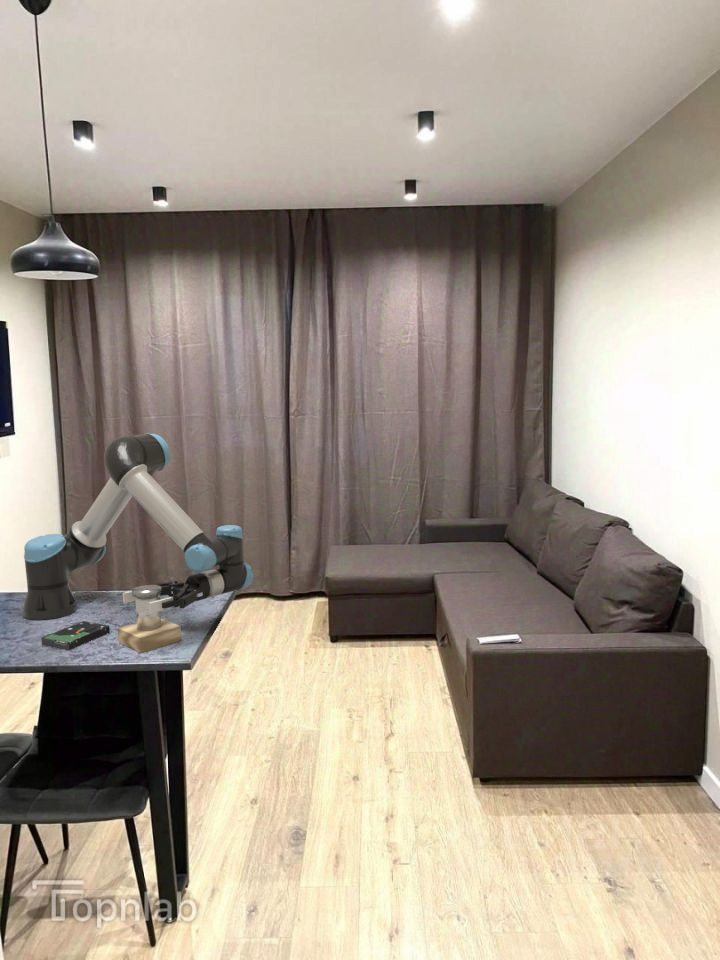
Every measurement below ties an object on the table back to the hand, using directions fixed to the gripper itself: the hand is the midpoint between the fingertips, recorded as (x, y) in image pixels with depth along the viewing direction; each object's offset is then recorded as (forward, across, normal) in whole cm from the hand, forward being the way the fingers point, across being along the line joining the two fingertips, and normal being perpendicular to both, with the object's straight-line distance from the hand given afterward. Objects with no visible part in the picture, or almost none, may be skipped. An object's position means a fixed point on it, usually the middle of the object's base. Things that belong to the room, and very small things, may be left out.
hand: (136, 603), depth 190 cm
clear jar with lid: (-3, 0, -8) cm, 8 cm away
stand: (-3, 0, -12) cm, 12 cm away
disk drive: (+9, +18, -12) cm, 23 cm away
